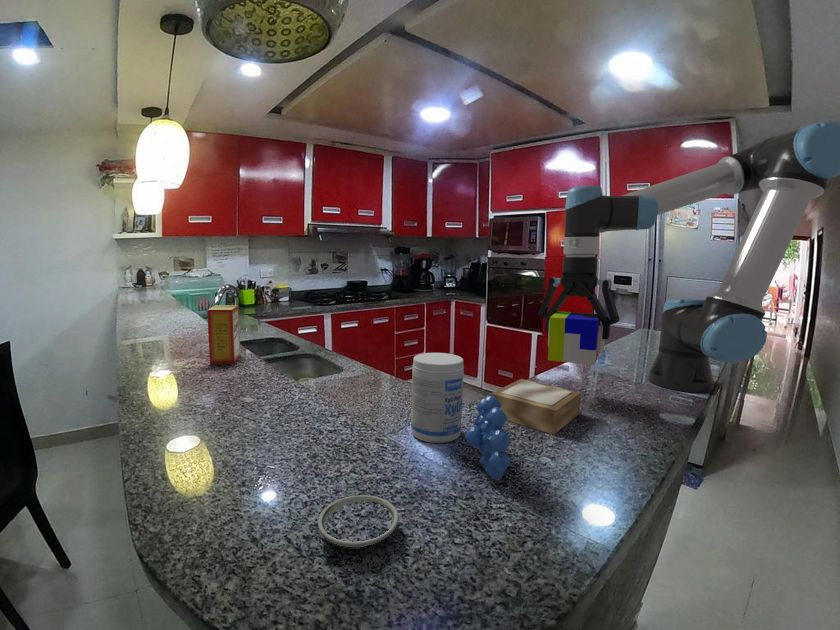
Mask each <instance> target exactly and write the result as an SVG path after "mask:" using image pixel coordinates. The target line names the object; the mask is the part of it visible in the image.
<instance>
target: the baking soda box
mask: <svg viewBox="0 0 840 630" xmlns="http://www.w3.org/2000/svg"><path fill="white" fill-rule="evenodd" d="M239 309H240V307H239V304H237V305H236V304H235V305H234V304H233V305H232V304H231V305H230V304H229V305H228V304H227V305H226V304H225V305H224V304H220V305H219V304H218V305H217V304H216V305H213V306H212V307H210V308H208V309H207V310H206V311H207V312H206V313H207V329H208V330H207V333H208V335H207V336H208V349H209V365H210V364H211V365H213V364H234V363H236V361H237V360H238V359H239V358H240V356H241V339H240V338H241V334H240V333H241V332H240V310H239Z"/></svg>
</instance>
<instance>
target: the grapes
mask: <svg viewBox="0 0 840 630" xmlns="http://www.w3.org/2000/svg"><path fill="white" fill-rule="evenodd" d="M501 406H502V405H501V404H500V402H499V401H498V400H497V399H496V398H495V397H494V396H492V395H491V394H489V395H487V396H486V397H483V398H482V399H480V401H479V403H478V404H477V405H476V408H475V409H476V411H477V412H478V413H479V414H478V415H477V417H476V419H475V420H474V422H473V424H474V425H472V426H470V427H469V429H468V430H467V432H466V434H465V435H464V438H465V440H466V441H467V442H468V444H469V445H470V446H471V447H472V448H477V449H478V450H479V452H480V453H481V455H482V456H481V457H480V459H479V463H480V465H481V466H482V467H483V469H484V468H485V469H484V471H485V472H486V473H487V474H488V476H489V477H490V479H492V480H494V479H495V481H499V480H501V479H502V477H503V476H504V474H505V472H506V470H507V469H508V467H509V466H510V464H511V459H510V457H509V455H508V454H507V453H506V451H507V449H508V447H509V446H510V445H511V442H512V438H511V437H510V435H509V434H508V433H507V432H506V431H505V430H504V429H503V427H504V426H505V424H506V423H507V418H508V417H507V416H506V414H505V413H504V412H503V411H502V410H501V409H500V408H501ZM498 479H499V480H498Z"/></svg>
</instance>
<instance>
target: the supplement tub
mask: <svg viewBox="0 0 840 630" xmlns="http://www.w3.org/2000/svg"><path fill="white" fill-rule="evenodd" d="M411 369H412V375H411V377H412V378H411V410H410V411H411V415H410V418H411V419H410V430H411V434H412V435H413V436H414V438H417V440H419V441H422V442H425V443H431V444H444V443H450V442H453V441H455V440H457V439H458V438H459V437H460V435H461V434H462V419H463V418H462V417H463V400H464V399H463V398H464V395H463V393H464V380H465V379H464V376H465V375H464V373H465V370H464V369H465V366H464V358H462V357H461V356H459V355H456V354H452V353H447V352H425V353H419V354H416V355H415V356H414V357H413V363H412V368H411Z"/></svg>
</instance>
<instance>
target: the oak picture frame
mask: <svg viewBox="0 0 840 630" xmlns="http://www.w3.org/2000/svg"><path fill="white" fill-rule="evenodd" d="M490 395H492V396H494V397H495V398H496V399H497V400H498V401H499V402H500V404H501V405H502V406H501V408H500V409H501V410H502V411H503V412H504V413H505V414H506V416H507V417H508V418H507V421H508V422H511V423H515V424H517V425H520V426H521V425H522V426H525V427H528V428H531V429H535V430H537V431H541V432H544V433H547V434H551V435H555V434H557V433H558V432H559V431H560V430H561V429H562V428H564V427H565V426H567V425H568V424H569V423H570V422H571V421H573V420H574V419H575V418H576V417H577V416H579V415H580V410H581V409H580V407H581V400H582V398H581V396H582V392H580V391H576V390H571V389H566V388H562V387H559V386H554V385H549V384H545V383H541V382H535V381H533V380H528V379H523V378H519V379H518V380H516V381H514V382H512V383H509V384H508V385H505V386H504V387H501V388H499V389H497V390H495V391H493V392H491V393H490ZM507 421H506V422H507Z"/></svg>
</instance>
